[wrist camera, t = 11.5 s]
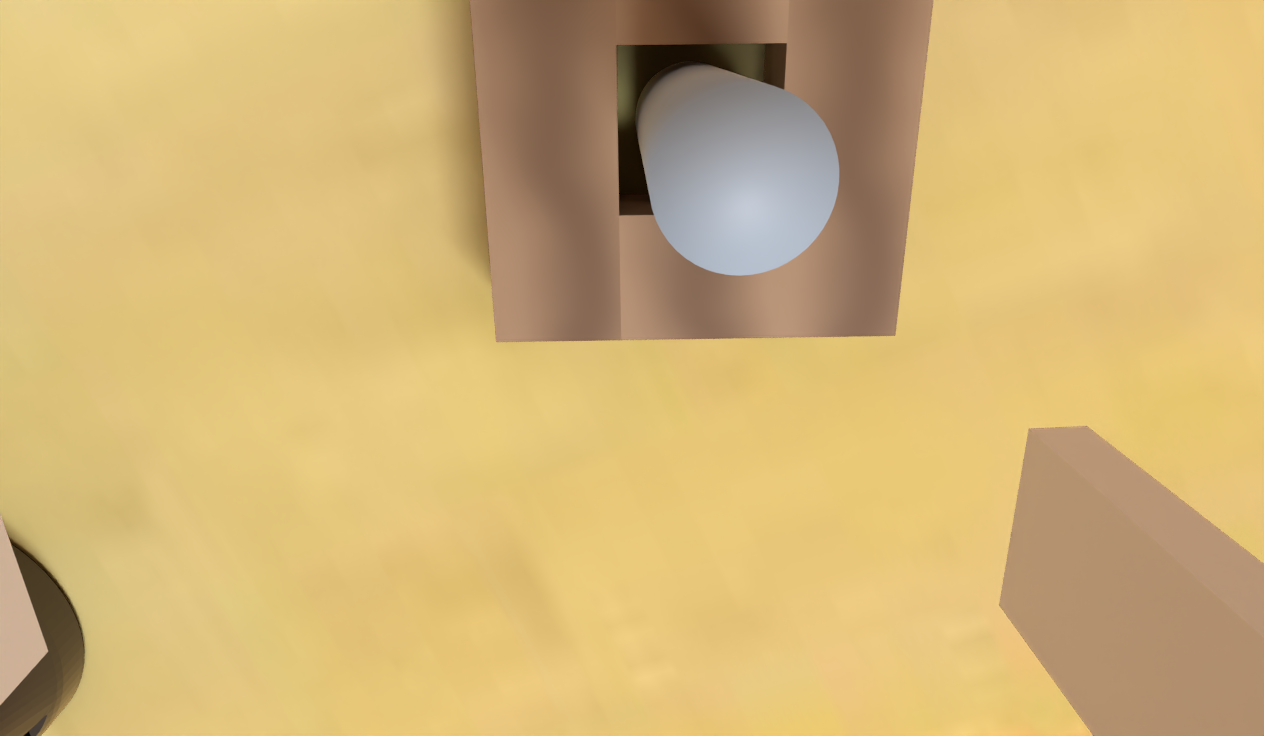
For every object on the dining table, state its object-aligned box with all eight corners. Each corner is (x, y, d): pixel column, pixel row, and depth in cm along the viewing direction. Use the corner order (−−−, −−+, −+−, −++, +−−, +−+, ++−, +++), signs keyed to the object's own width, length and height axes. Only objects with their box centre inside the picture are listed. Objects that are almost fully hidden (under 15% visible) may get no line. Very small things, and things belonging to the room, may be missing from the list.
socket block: (509, 307, 37) (496, 341, 33) (481, -97, 31) (461, -117, 27) (864, 302, 38) (895, 335, 33) (903, -101, 32) (947, -122, 27)
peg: (635, 175, 35) (649, 276, 20) (634, 62, 34) (648, 84, 19) (741, 173, 35) (831, 274, 20) (745, 60, 34) (847, 81, 19)
